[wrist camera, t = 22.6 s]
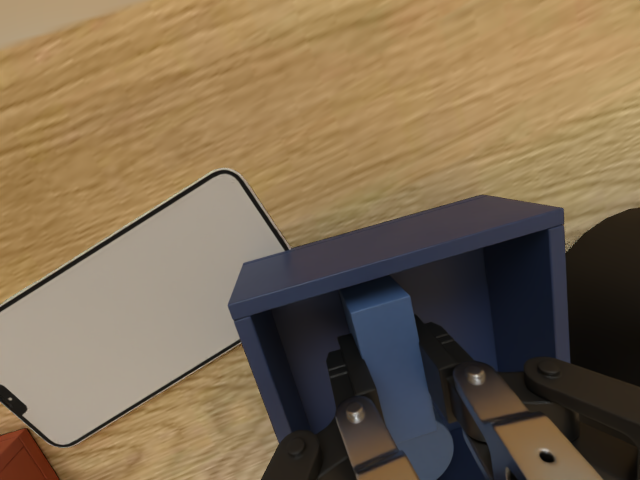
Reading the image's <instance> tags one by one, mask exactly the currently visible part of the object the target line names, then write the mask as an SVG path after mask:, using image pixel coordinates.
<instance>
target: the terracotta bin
mask: <svg viewBox="0 0 640 480" xmlns="http://www.w3.org/2000/svg"><path fill="white" fill-rule="evenodd" d="M0 480H59V478H58V477H57V475H56V474H55V472H54V471H53V469H52V468H51V466H50V464H49V463H48V461H47V460H46V458H45V457H44V455H43V454H42V452H41V450H40V449H39V447H38V446H37V444H36V443H35V441H34V440H33V438H32V437H31V435H30V433H29V432H28V430H27V429H26V428H24V429H21V430H18V431H14V432H11V433H8V434H4V435H1V436H0Z"/></svg>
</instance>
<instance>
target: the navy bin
mask: <svg viewBox="0 0 640 480" xmlns="http://www.w3.org/2000/svg"><path fill="white" fill-rule="evenodd" d="M562 224H564V209H563V208H560V207H554V206H548V205H542V204H536V203H530V202H524V201H518V200H512V199H506V198H500V197H494V196H487V195H479V196H475V197H472V198H468V199H465V200H461V201H457V202H454V203H450V204H447V205H443V206H440V207H436V208H433V209H429V210H426V211H422V212H419V213H415V214H411V215H408V216H404V217H401V218H397V219H394V220H390V221H387V222H383V223H380V224H376V225H373V226H369V227H365V228H362V229H358V230H355V231H351V232H348V233H344V234H341V235H337V236H334V237H330V238H327V239H323V240H319V241H316V242H312V243H309V244H305V245H302V246H298V247H295V248H291V249H290V250H287V251H283V252H280V253H276V254H273V255H269V256H266V257H262V258H259V259H255V260H252V261H248V262H245V263H243V265H242V268H241V270H240V273H239V276H238V278H237V281H236V284H235V286H234V289H233V292H232V294H231V297H230V300H229V302H228V309H229V311H230V314H231V317H232V319H233V320H234V324H235V327H236V330H237V332H238V335H239V338H240V340H241V343H242V346H243V348H244V351H245V354H246V356H247V359H248V362H249V365H250V367H251V370H252V373H253V375H254V378H255V381H256V383H257V386H258V389H259V391H260V394H261V397H262V399H263V402H264V405H265V407H266V410H267V413H268V415H269V418H270V421H271V423H272V426H273V429H274V431H275V434H276V437H277V439H278V442H279V444H280V442H281V441H282V440H283V439H284V438H285V437H286V436H287V435H288V434H290V433H292V432H294V431H297V430H309V431H311V432H313V433H314V434H317V433H318V432H320V431H322V430H323V429H324V428H326V427H327V426H328V425H329V424H330V423H331V421H332V420H333V418H334V416H335V412H336V404H335V400H334V395H333V391H332V386H331V382H330V377H329V373H328V368H327V364H326V360H327V357H328V354H329V352H332V351H335V350H338V349H340V346H339V342H338V338H337V337H340V336H343V335H347V334H350V331H349V327H348V324H347V320H346V316H345V312H344V309H343V305H342V301H341V297H340V294H339V289H343V288H346V287H350V286H353V285H356V284H360V283H363V282H367V281H370V280H374V279H377V278H380V277H384V276H387V275H390V276H391V277H392V278H393V279H394V280H395V281H396V282H397V283H398V284H399V285H400V286H401V287H402V288H403V289H404V290H405V291H406V292H407V293H408V294H409V295H410V298H411V302H412V307H413V312H414V314H416V315H417V316H418V317H419V318H420V319H421V320H422V322H423V323H424V324H425V323H429V322H433V323H435V324H437V325H440V326H442V327H443V328H444V329H445V330H446V331H447V332H448V334H449V335H450V336H451V337H452V338H453V339H454V341H456V342H457V343H458V344H459V345H460V346H461V347H462V348H463V349H464V350H465V351H466V352H467V353H468V354H469V355H470V356H471V357H472V358H473V359H474V360H475V361H480V362H484V363H486V364H488V365H490V366H491V367H493V368H494V369H495V370H496V371H497V372H521V371H524V367H523V366H524V364H525V362H526V361H527V360H529V359H531V358H534V357H551V358H556V359H559V360H562V361H565V362H568V363H570V343H569V321H568V299H567V277H566V256H565V234H564V225H562ZM431 400H432V404H433V406H434V408H435V409H436V411H437V412H438V414H439V416H440V417H441V419H442V420H443V422H444V423H445V425H446V427H447V428H448V430H449V431H450V433H451V436H452V439H453V445H454V451H453V456H452V459H451V462H450V464H449V466H448V467H447V469H446V470H445V471H444V473H443V474H442V475H441V476H440V477H439V478H438V479H436V480H485V478H484V476H483V474H482V472H481V470H480V468H479V467H478V465H477V463H476V461H475V459H474V457H473V455H472V453H471V451H470V449H469V448H468V446H467V444H466V442H465V440H464V437H463V431H462V427H461V425H460V424H459V422H458V421H456V422H453V423H450V424H449V423H448V422H447V420H446V419H445V417H444V416H443V414H442V412H441V411H440V409H439V408H438V406H437V405H436V403H435V401H434V400H433V398H432V397H431Z"/></svg>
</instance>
